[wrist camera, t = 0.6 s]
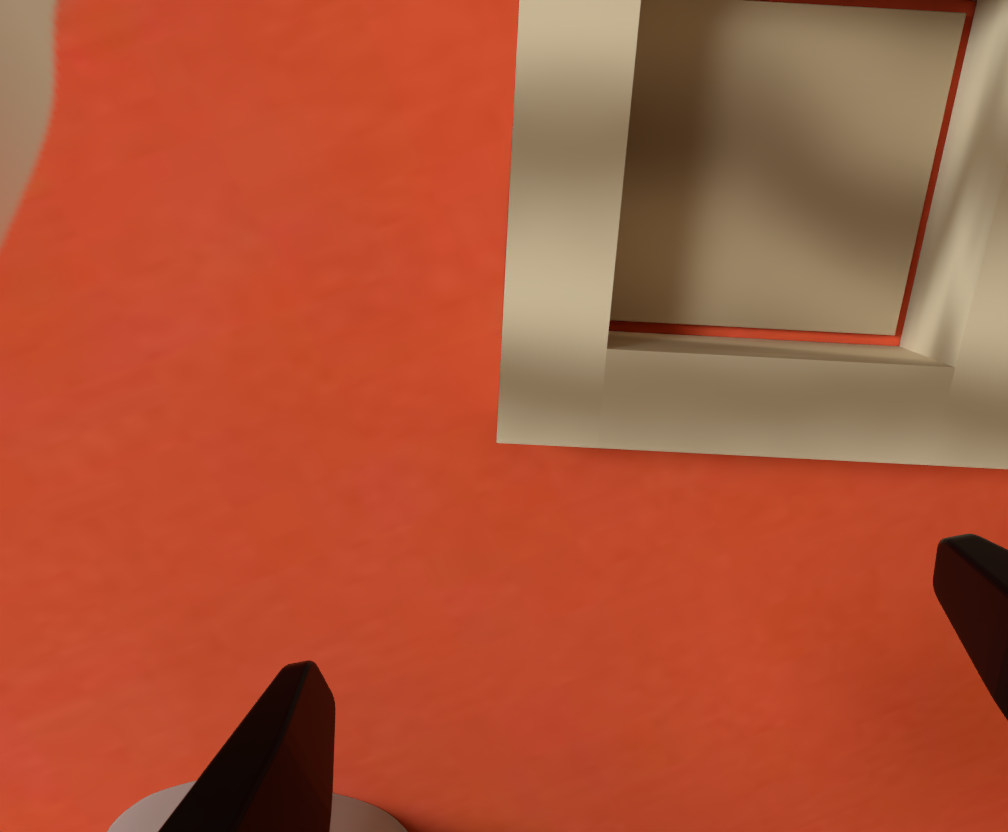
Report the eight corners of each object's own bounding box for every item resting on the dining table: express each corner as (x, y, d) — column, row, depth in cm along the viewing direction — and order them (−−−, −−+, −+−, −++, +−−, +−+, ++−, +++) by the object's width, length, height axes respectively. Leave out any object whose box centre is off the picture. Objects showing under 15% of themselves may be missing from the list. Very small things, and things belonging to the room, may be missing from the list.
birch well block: (967, 437, 24) (1030, 470, 21) (498, 413, 24) (496, 442, 21) (1114, -118, 19) (1223, -175, 16) (527, -153, 19) (531, -216, 16)
